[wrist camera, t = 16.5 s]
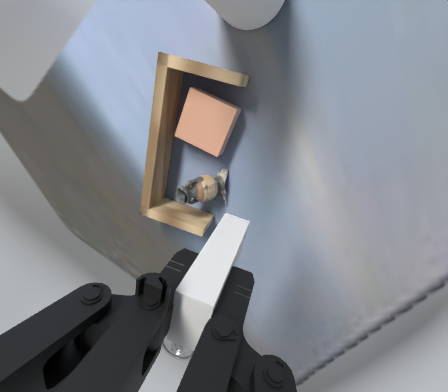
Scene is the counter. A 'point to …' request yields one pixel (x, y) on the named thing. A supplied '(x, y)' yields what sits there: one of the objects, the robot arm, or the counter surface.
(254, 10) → the milk bottle
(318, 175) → the counter surface
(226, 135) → the tile
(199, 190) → the vase
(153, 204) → the frame
